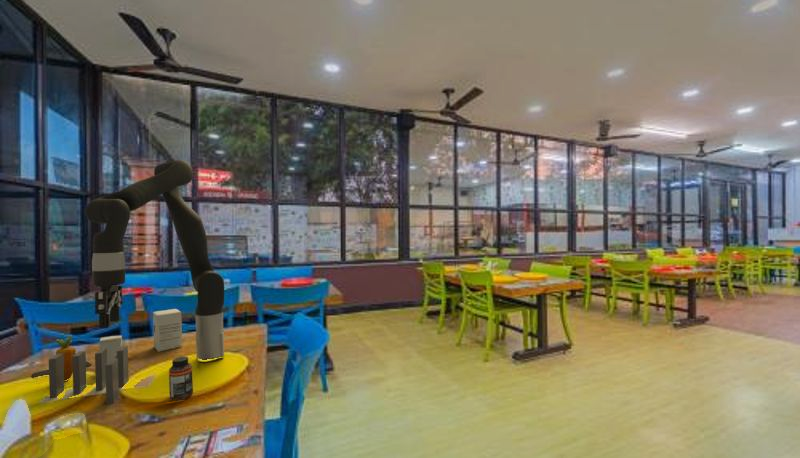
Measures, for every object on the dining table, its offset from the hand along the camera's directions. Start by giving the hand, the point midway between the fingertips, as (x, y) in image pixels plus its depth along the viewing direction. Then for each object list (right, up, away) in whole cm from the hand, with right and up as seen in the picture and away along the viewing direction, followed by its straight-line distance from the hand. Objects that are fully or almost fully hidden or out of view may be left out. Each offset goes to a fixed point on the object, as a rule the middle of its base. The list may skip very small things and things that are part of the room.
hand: (109, 324), depth 108 cm
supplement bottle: (+19, -22, +2) cm, 29 cm away
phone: (-37, -24, +26) cm, 51 cm away
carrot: (-26, -23, +15) cm, 38 cm away
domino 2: (-9, -22, +9) cm, 25 cm away
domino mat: (-9, -22, +9) cm, 26 cm away
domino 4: (-4, -22, +11) cm, 25 cm away
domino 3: (+1, -22, 0) cm, 22 cm away
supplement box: (-14, -23, +50) cm, 57 cm away
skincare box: (-17, -23, +23) cm, 37 cm away
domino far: (-20, -22, +5) cm, 30 cm away
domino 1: (-14, -22, +7) cm, 27 cm away
